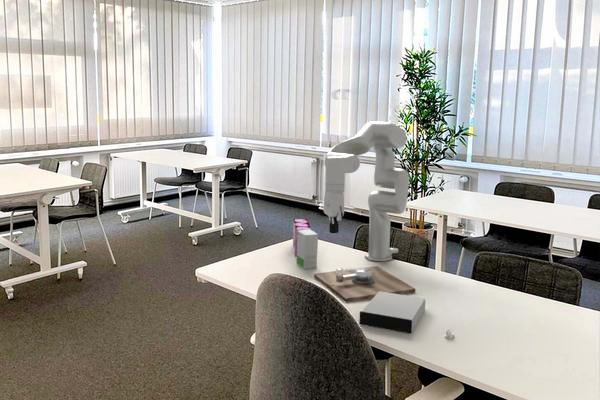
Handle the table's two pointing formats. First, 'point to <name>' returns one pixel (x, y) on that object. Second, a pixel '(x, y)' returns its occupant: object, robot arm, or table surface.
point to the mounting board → (364, 284)
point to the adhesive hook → (449, 333)
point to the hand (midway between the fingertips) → (333, 232)
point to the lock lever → (354, 275)
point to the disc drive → (393, 312)
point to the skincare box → (307, 249)
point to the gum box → (297, 226)
